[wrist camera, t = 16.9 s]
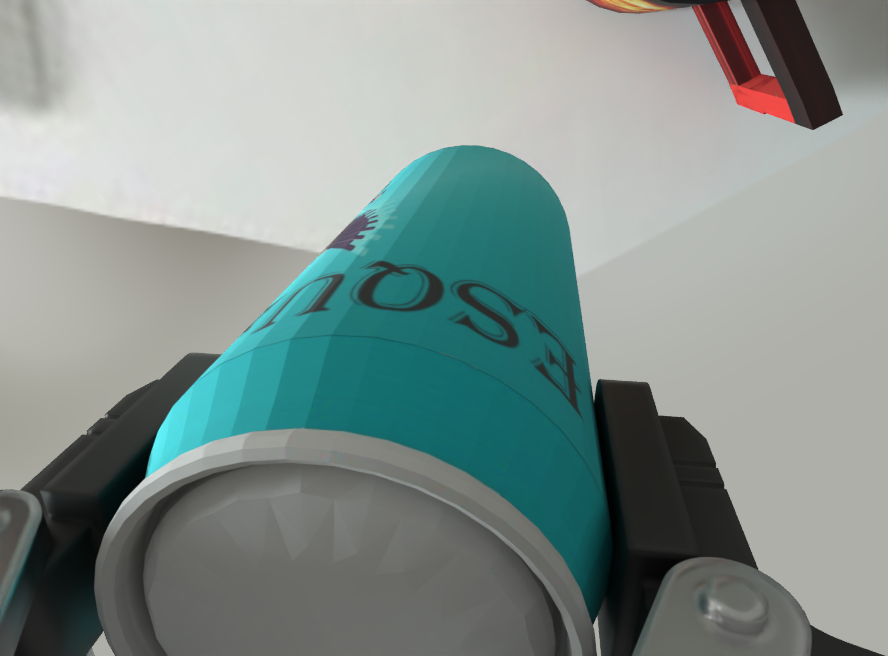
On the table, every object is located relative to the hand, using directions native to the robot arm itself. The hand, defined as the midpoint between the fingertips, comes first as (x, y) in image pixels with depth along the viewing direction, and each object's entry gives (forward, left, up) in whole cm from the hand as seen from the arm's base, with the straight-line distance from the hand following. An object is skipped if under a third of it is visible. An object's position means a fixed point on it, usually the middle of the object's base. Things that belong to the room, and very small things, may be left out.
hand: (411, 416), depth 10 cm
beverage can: (0, 0, -11) cm, 11 cm away
